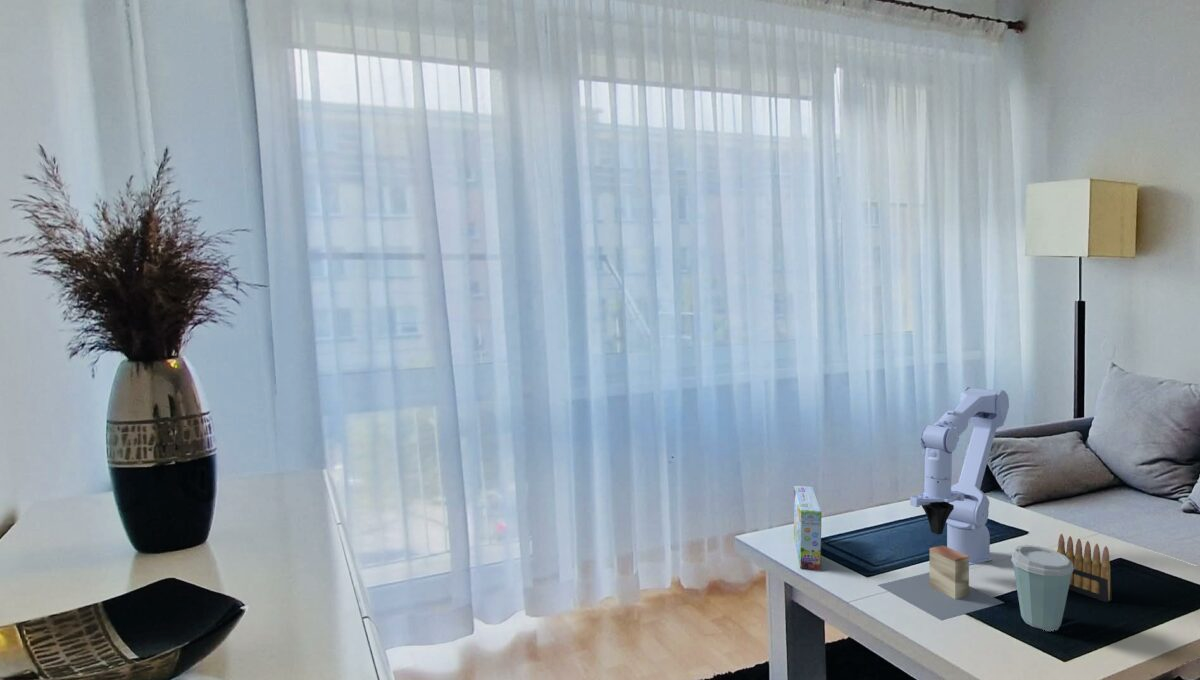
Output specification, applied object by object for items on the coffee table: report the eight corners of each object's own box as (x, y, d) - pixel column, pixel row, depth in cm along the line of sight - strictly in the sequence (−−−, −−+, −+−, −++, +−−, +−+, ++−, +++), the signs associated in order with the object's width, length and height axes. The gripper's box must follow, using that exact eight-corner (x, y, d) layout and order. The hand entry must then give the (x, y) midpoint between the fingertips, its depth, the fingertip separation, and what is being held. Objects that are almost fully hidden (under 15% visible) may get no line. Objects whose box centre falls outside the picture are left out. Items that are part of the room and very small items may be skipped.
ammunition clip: (1112, 600, 145) (1113, 546, 144) (1107, 602, 145) (1108, 548, 144) (1058, 582, 155) (1059, 531, 154) (1054, 584, 154) (1054, 533, 153)
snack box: (823, 570, 166) (822, 511, 165) (799, 569, 167) (798, 510, 166) (813, 538, 187) (813, 484, 186) (792, 537, 188) (791, 484, 187)
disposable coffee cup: (1069, 617, 139) (1070, 547, 138) (1076, 643, 130) (1078, 568, 128) (1009, 607, 144) (1010, 539, 143) (1011, 631, 135) (1012, 558, 133)
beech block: (942, 582, 156) (942, 545, 155) (968, 595, 149) (968, 556, 149) (929, 586, 154) (929, 548, 154) (955, 599, 148) (955, 559, 147)
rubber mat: (936, 572, 162) (936, 570, 162) (1004, 604, 146) (1004, 602, 146) (877, 586, 156) (877, 584, 156) (941, 622, 139) (941, 620, 139)
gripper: (927, 483, 153) (926, 542, 154) (975, 477, 158) (974, 534, 158) (903, 476, 160) (902, 532, 160) (950, 470, 164) (949, 525, 165)
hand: (936, 532), depth 160 cm, fingers closed
